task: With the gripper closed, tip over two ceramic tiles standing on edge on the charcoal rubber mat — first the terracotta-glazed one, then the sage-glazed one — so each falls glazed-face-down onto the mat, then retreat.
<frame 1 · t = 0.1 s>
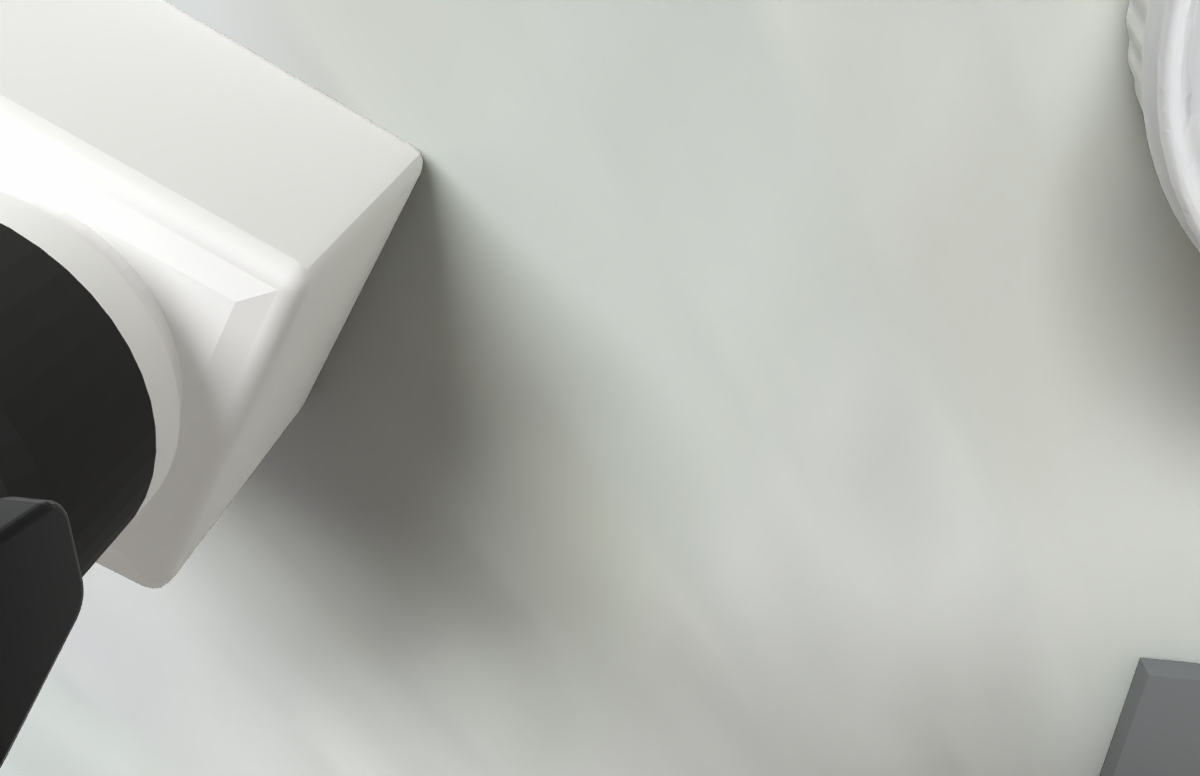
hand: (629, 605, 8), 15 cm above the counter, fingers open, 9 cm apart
medicine bottle: (218, 202, 23), on the counter
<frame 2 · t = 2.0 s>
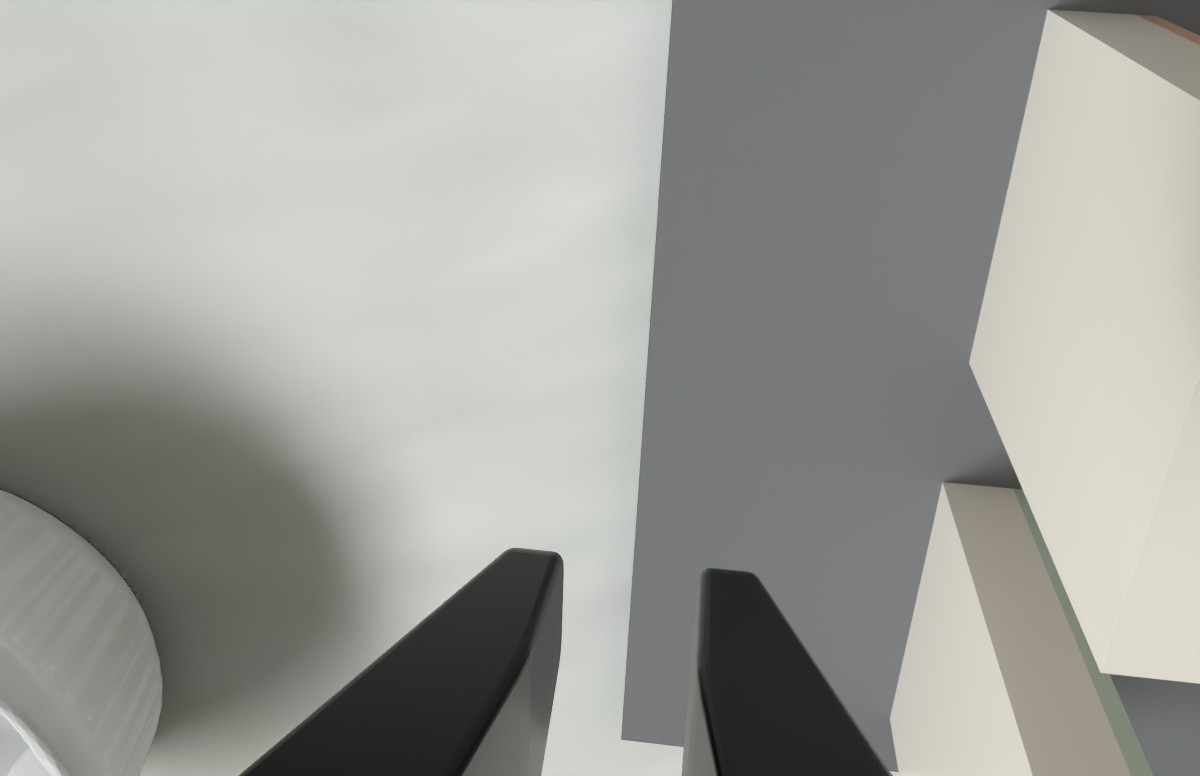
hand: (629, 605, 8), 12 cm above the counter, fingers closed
sage tile: (955, 612, 22), point 1 cm above the counter, touching slate mat
terracotta tile: (1055, 203, 18), point 1 cm above the counter, touching slate mat
slate mat: (1079, 408, 20), on the counter
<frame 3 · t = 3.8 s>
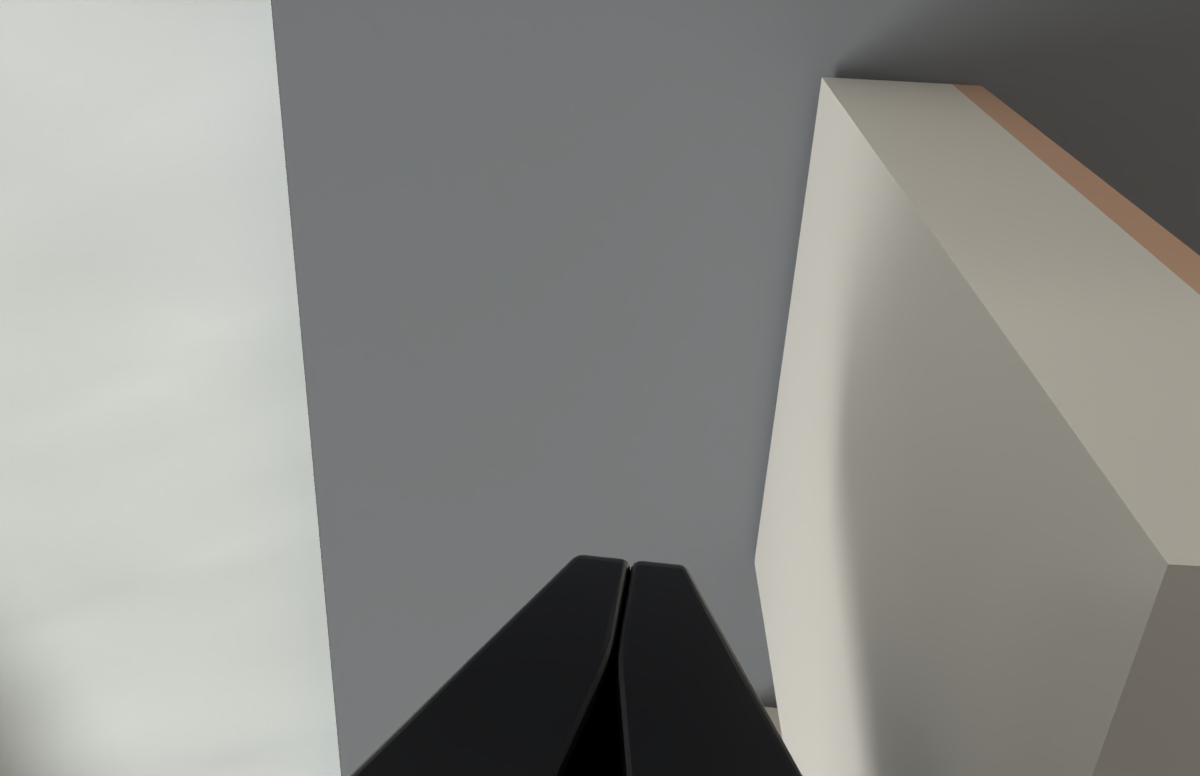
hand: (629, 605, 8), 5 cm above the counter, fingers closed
terracotta tile: (855, 351, 12), point 1 cm above the counter, touching slate mat
slate mat: (916, 607, 15), on the counter
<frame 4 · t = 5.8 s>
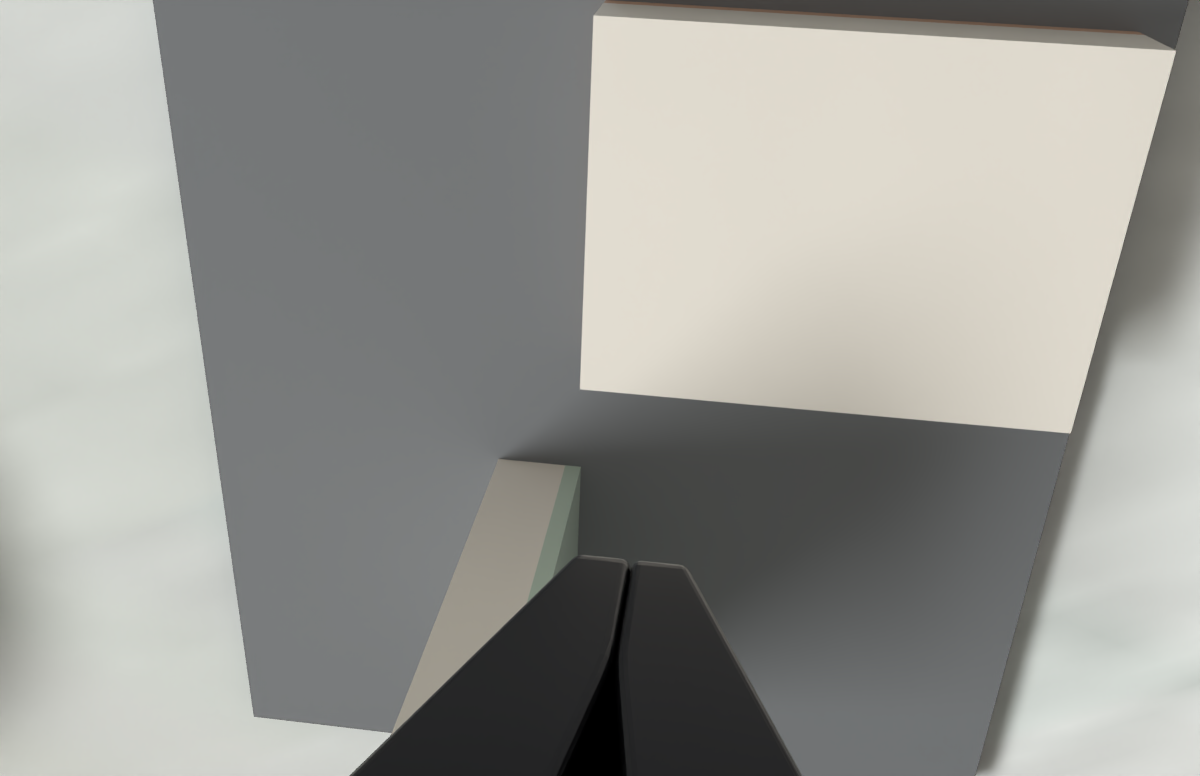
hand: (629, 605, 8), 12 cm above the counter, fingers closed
sage tile: (537, 588, 22), point 1 cm above the counter, touching slate mat
terracotta tile: (592, 202, 18), point 1 cm above the counter, tilted 90°, touching slate mat
slate mat: (624, 386, 21), on the counter
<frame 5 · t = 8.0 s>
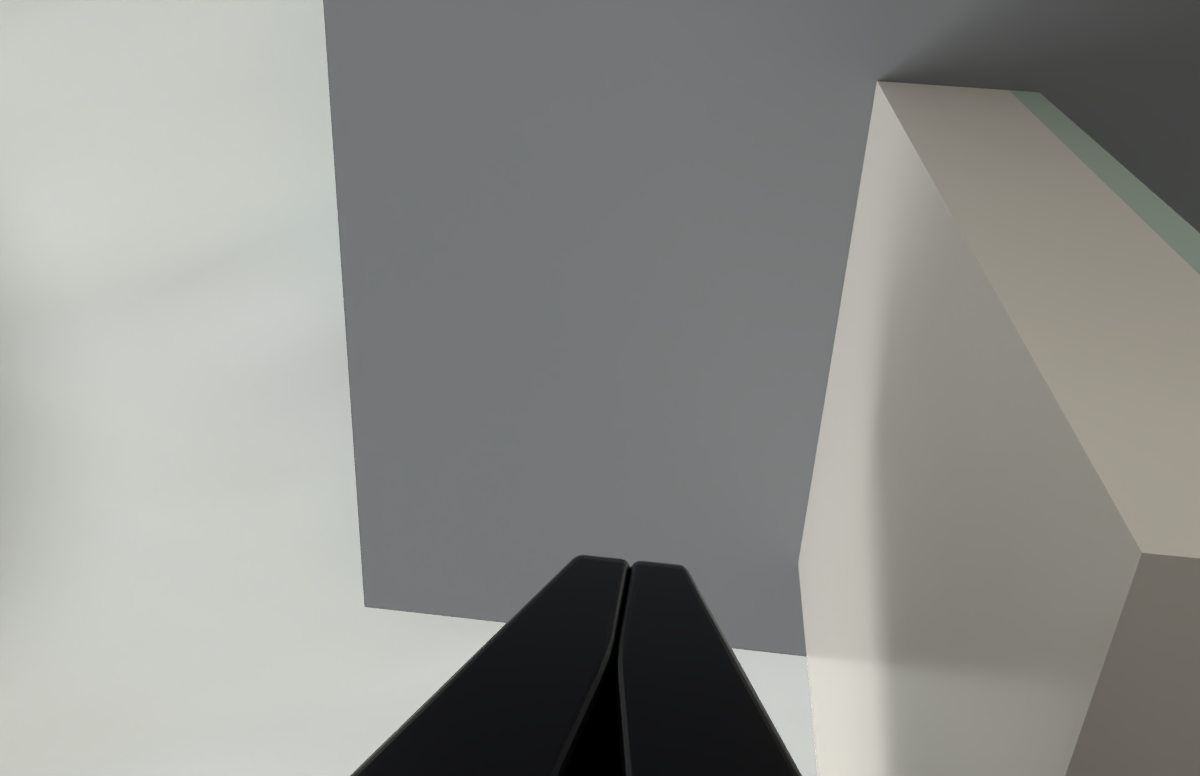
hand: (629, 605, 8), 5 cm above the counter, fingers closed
sage tile: (904, 355, 12), point 1 cm above the counter, touching gripper, slate mat
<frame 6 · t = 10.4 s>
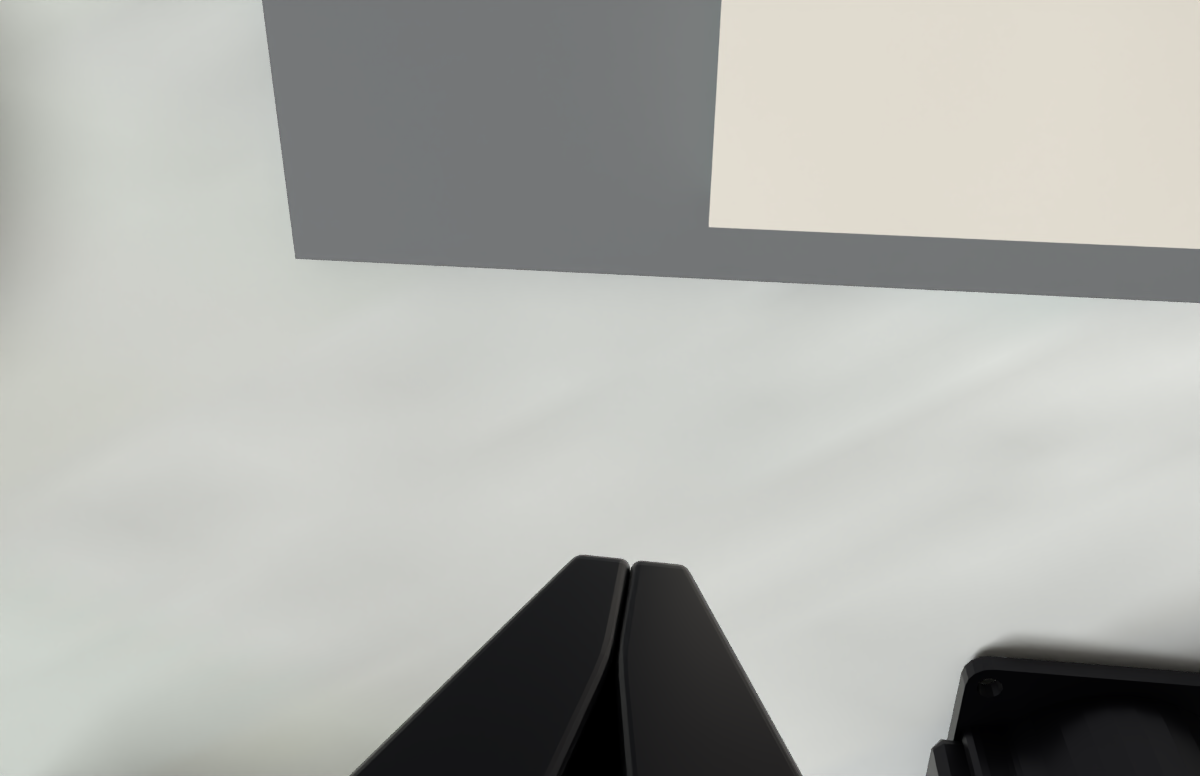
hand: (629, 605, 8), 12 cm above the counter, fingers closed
sage tile: (720, 17, 16), point 1 cm above the counter, tilted 90°, touching slate mat
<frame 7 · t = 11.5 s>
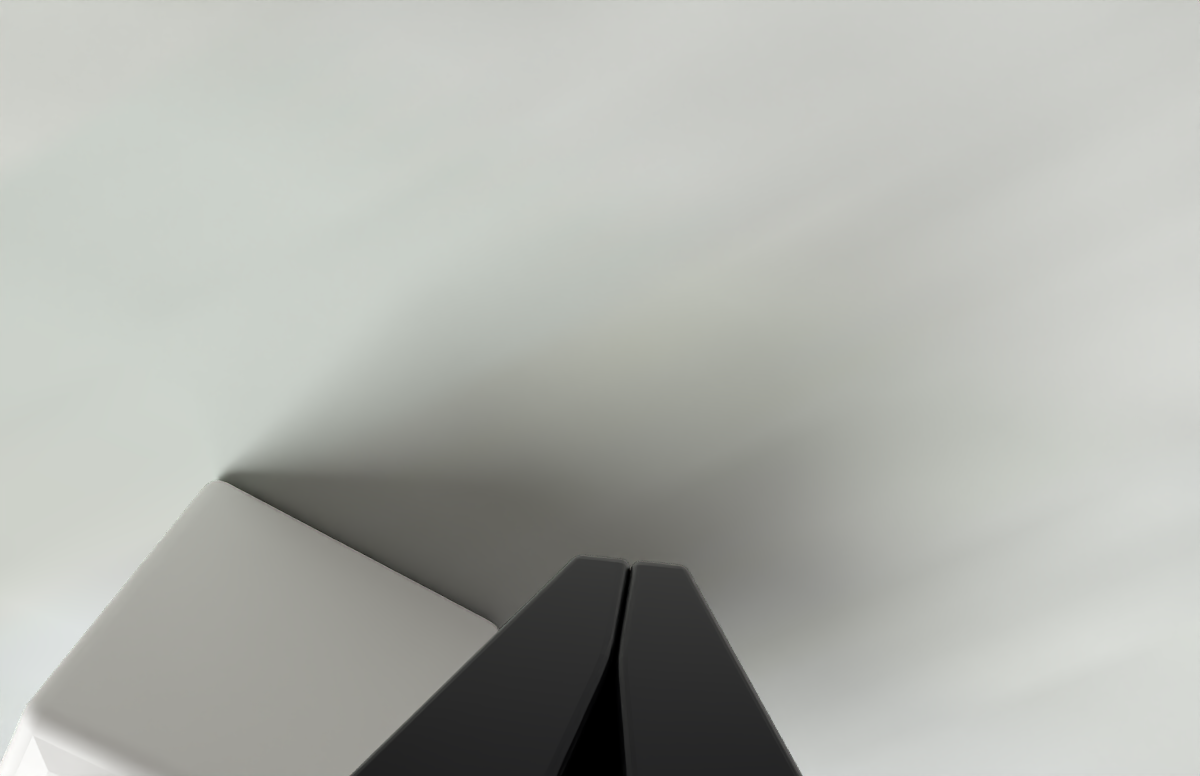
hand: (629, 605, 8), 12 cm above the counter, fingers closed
medicine bottle: (305, 645, 25), on the counter
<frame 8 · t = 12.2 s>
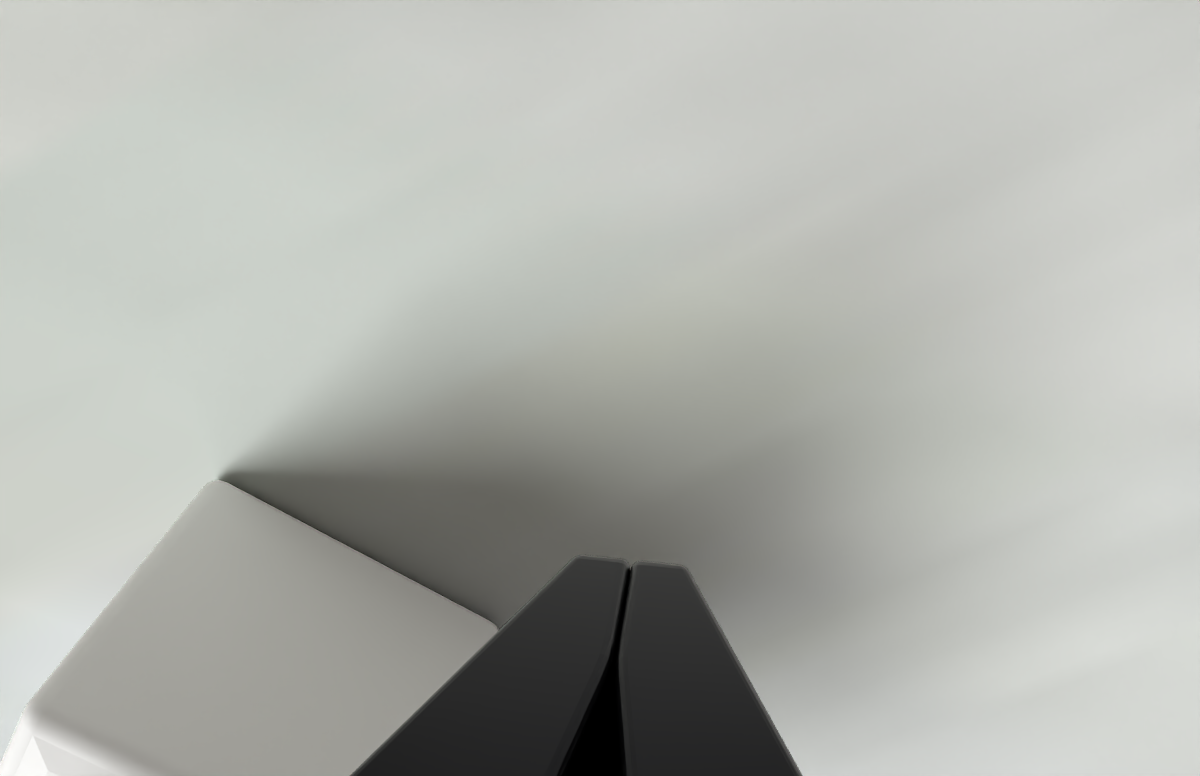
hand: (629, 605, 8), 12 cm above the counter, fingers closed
medicine bottle: (305, 645, 25), on the counter
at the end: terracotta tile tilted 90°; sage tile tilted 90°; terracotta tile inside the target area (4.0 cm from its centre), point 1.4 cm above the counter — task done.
